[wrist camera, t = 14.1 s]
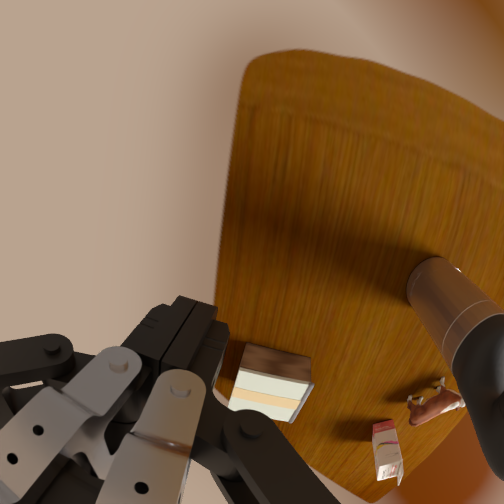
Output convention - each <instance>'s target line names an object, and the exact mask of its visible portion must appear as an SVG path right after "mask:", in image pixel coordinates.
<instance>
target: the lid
mask: <svg viewBox="0 0 504 504" xmlns="http://www.w3.org/2000/svg"><path fill="white" fill-rule="evenodd" d="M313 387H314V384H313V383H311V382H307V381H301V380H296V379H291V378H286V377H281V376H276V375H271V374H267V373H262V372H258V371H254V370H250V369H245V368H241V367H240V369H239V372H238V375H237V378H236V382H235V385H234V388H233V392H232V395H231V398H230V401H229V405H228V408H229V409H231V410H233V411H237V410H242V409H251V410H256V411H259V412H261V413H264V414H265V415H267V416H268V417H269V418H270V419H276V420H281V421H287V422H289V423H293V421H294V419H295V418H296V416H297V414H298V413H299V411H300V409H301V408H302V406H303V404H304V403H305V401H306V399H307V397H308V396H309V394H310V392H311V390H312V388H313Z"/></svg>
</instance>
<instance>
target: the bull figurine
mask: <svg viewBox="0 0 504 504" xmlns="http://www.w3.org/2000/svg"><path fill="white" fill-rule="evenodd" d="M444 379H445V377H442V378H441V380H440V383H441V386H438V387H437V389H436V391H437V392H438V393H439V394H438V395H436V396H433V397H431V398H429V399H426V401H425V403H424V404H423V405H421V406H420V403H421V401H422V399H423V397H420V398H419V400H417V405H414V404H413V403H412V401H411V399H412V395H409V396H408V399H407V401H408V407H407V408H408V409H410V411H411V413H410V418H409V424H410V425H411V426H418V425H420V424H422V423H424V422H427V421H429V420H430V419H432V418H434V417H436V416H438V415H440V414H442V413H445V412H447V411H449V410H451V409H455V408H456V411H458V410H459V408H460V407H464V406H465V402H464V400H463V398H462V396H461V394H460V393H457V392H456V391H454V390H451V389H446V388H445V385H444ZM440 388H441V389H440Z"/></svg>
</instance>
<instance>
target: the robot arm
mask: <svg viewBox="0 0 504 504" xmlns="http://www.w3.org/2000/svg"><path fill="white" fill-rule="evenodd" d="M406 294H407V298H408V301H409V303H410V304H411V306H412V307H413V309H414V310H415V312H416V314H417V315H418V317H419V318H420V320H421V322H422V323H423V325H424V326H425V328H426V330H427V331H428V333H429V334H430V336H431V338H432V339H433V341H434V343H435V344H436V346H437V348H438V349H439V351H440V353H441V354H442V356H443V358H444V359H445V361H446V363H447V365H448V366H449V368H450V370H451V372H452V374H453V376H454V377H455V379H456V381H457V385H458V389H459V392H460V394H461V396H462V398H463V400H464V402H465V405H466V407H467V409H468V412H469V414H470V417H471V420H472V422H473V425H474V428H475V431H476V434H477V437H478V440H479V442H480V445H481V448H482V451H483V453H484V456H485V458H486V460H487V462H488V464H489V466H490V468H491V469H492V471H493V472H494V473H495V475H496V476H498V477H499V478H500V479H501V480H503V481H504V311H503V310H502V309H501V308H500V307H499V306H498V305H497V304H496V303H495V302H494V301H493V300H492V299H491V298H490V297H489V296H488V295H486V294H485V293H484V292H483V291H482V290H481V289H480V288H479V287H478V286H477V285H476V284H474V283H473V282H472V281H471V280H470V279H469V278H468V277H466V276H465V275H464V274H463V273H462V272H461V271H460V270H458V269H457V268H456V267H455V266H454V265H452V264H451V263H450V262H449V261H447V260H446V259H444V258H441V257H433V258H429V259H427V260H425V261H423V262H422V263H420V264H419V265H418V266H417V267H416V268H415V269H414V271H413V272H412V273H411V275H410V277H409V280H408V283H407V288H406ZM217 311H218V307H216V306H213V305H210V304H206V303H203V302H200V301H199V302H198V301H196V300H193V299H189V298H186V297H183V296H180V295H179V296H178V297H177V298H176V300H175V301H174V302H173V304H172V305H171V306H169V305H166V304H161V305H158V306H156V307H154V308H152V309H151V310H150V311H149V313H148V314H147V315H146V317H145V318H143V320H142V321H141V322H140V324H139V325H137V327H136V328H135V329H134V330H133V331H132V333H131V334H130V335H129V336H128V337H127V339H126V340H125V341H124V342H123V343H122V345H121V346H114V347H109V348H106V349H104V350H102V351H101V352H100V353H99V354H98V355H97V356H95V355H88V354H84V353H79V352H74V350H73V345H72V343H71V342H70V340H69V339H68V338H67V337H65V336H63V335H60V334H46V335H40V336H35V337H29V338H23V339H17V340H11V341H5V342H0V504H181V502H182V497H183V493H184V488H185V484H186V479H187V475H188V472H189V467H190V463H191V459H193V460H194V461H196V462H197V463H199V464H201V465H202V466H204V467H205V468H207V469H209V470H210V473H211V475H212V477H213V478H214V480H215V482H216V484H217V486H218V487H219V489H220V491H221V492H222V494H223V495H224V497H225V499H226V500H227V502H228V504H341V503H340V502H339V501H338V500H337V499H336V498H335V497H334V496H333V494H332V493H331V492H330V491H329V490H328V489H327V488H326V487H325V485H324V484H323V483H322V482H321V481H320V480H319V478H318V477H317V476H316V475H315V474H314V472H312V470H311V469H310V468H309V466H308V465H307V464H306V463H305V462H304V460H303V459H302V458H301V457H300V455H299V454H298V453H297V452H296V450H295V449H294V448H293V447H292V445H291V444H290V443H289V442H288V440H287V439H286V438H285V436H284V435H283V434H282V432H281V431H280V430H279V429H278V427H277V426H276V425H275V423H274V422H273V421H272V420H271V419H270V418H269V417H268V416H267V415H265V414H264V413H261V412H259V411H256V410H251V409H242V410H237V411H233V410H231V409H229V408H227V407H226V406H224V405H223V404H221V403H220V402H219V401H218V400H217V399H216V398H215V396H214V394H213V389H214V386H215V383H216V380H217V377H218V375H219V372H220V369H221V366H222V363H223V359H224V355H225V351H226V347H227V343H228V339H229V335H230V332H229V328H228V325H227V323H223V322H220V321H217V320H216V316H217ZM41 380H42V382H43V384H42V385H37V386H33V387H27V388H21V389H13V388H11V387H10V386H15V385H20V384H26V383H31V382H36V381H41Z"/></svg>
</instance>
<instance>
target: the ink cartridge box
mask: <svg viewBox="0 0 504 504" xmlns="http://www.w3.org/2000/svg"><path fill="white" fill-rule="evenodd" d="M372 443H373V449H374V456H375V464H376V473H377V481H378V480H383V479H387V478H390V477H394V476H397V477H398V486H399V484H400V481H401V478H402V476H403V462H402V456H401V452H400V447H399V443H398V439H397V434H396V430H395V426H394V422H393V419H392V420H388V421H384V422H380V423H376V424H373V437H372ZM400 473H401V474H400Z"/></svg>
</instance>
